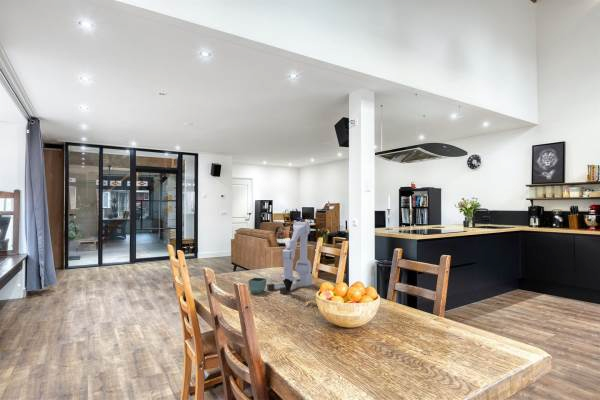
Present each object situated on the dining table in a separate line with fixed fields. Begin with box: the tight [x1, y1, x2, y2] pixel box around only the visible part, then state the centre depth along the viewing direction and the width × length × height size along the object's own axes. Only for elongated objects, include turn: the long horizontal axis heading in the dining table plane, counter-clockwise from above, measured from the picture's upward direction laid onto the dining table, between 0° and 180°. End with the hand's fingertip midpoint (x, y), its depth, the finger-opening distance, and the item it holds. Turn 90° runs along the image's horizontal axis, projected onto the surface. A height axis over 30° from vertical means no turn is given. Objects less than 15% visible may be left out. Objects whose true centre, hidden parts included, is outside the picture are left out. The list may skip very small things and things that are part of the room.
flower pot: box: [248, 277, 267, 294], centre depth 208 cm, size 9×9×9 cm
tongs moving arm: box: [279, 282, 298, 295], centre depth 211 cm, size 18×2×4 cm, turn 152°
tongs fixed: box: [266, 278, 304, 292], centre depth 217 cm, size 24×5×5 cm, turn 124°
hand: (288, 291), depth 204 cm, fingers closed
